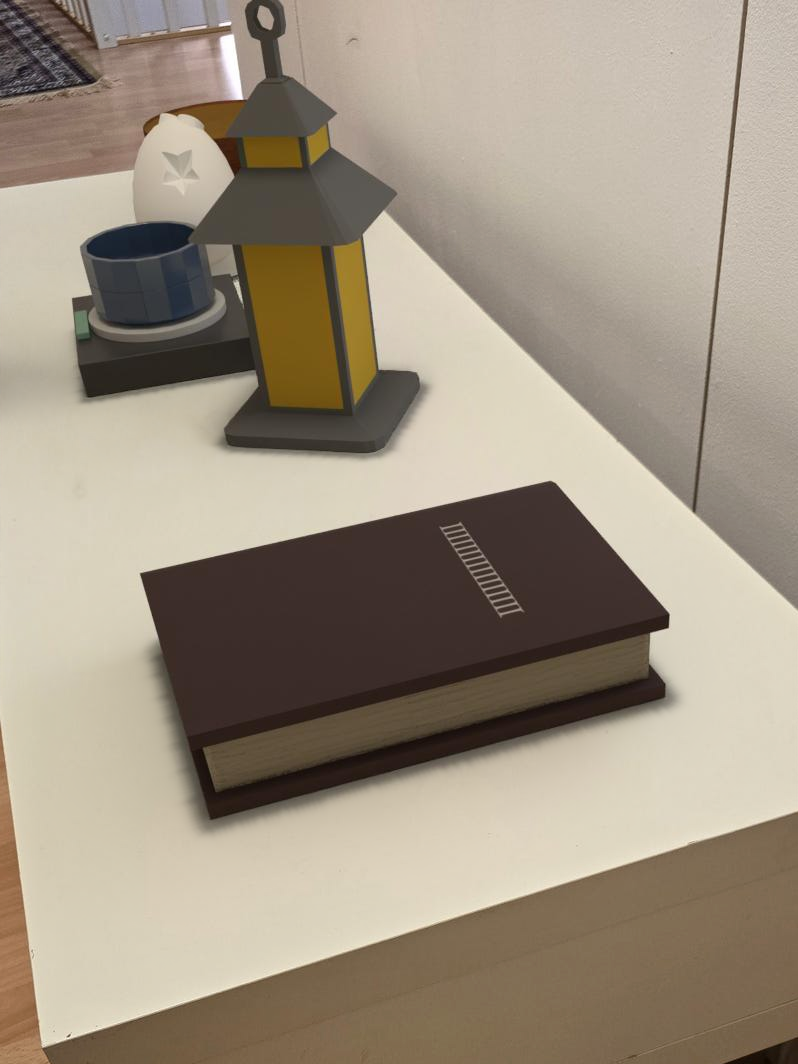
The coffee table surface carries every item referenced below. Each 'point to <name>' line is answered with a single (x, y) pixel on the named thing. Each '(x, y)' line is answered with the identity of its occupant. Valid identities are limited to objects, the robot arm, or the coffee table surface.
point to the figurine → (182, 180)
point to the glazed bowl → (147, 273)
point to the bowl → (212, 125)
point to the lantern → (303, 271)
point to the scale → (162, 345)
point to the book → (399, 642)
